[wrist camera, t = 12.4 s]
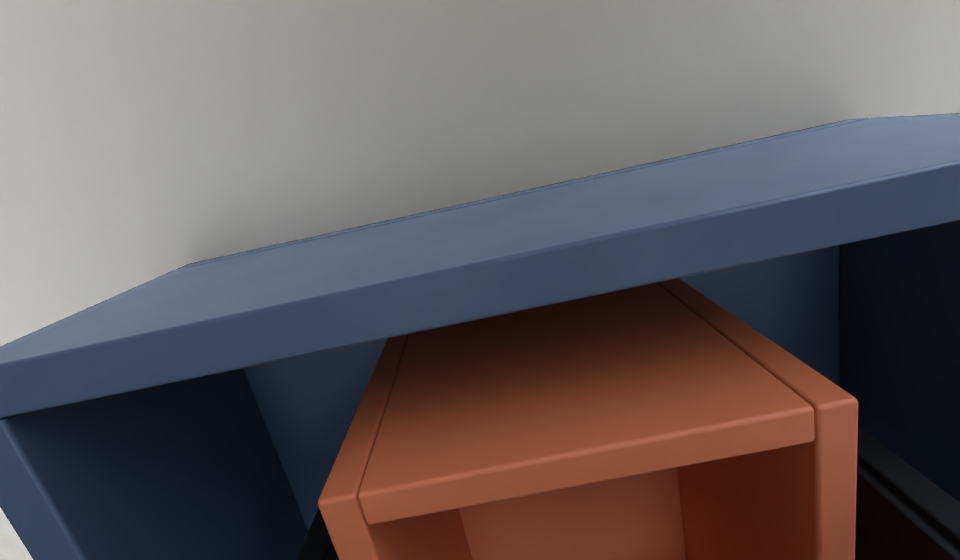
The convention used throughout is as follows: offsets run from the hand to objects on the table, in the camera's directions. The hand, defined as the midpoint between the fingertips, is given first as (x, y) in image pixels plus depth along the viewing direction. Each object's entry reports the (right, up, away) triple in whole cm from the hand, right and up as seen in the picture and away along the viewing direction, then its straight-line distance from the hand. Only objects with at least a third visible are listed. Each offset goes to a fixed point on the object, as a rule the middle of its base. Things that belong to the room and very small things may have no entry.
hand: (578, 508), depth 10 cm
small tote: (0, 0, +2) cm, 2 cm away
